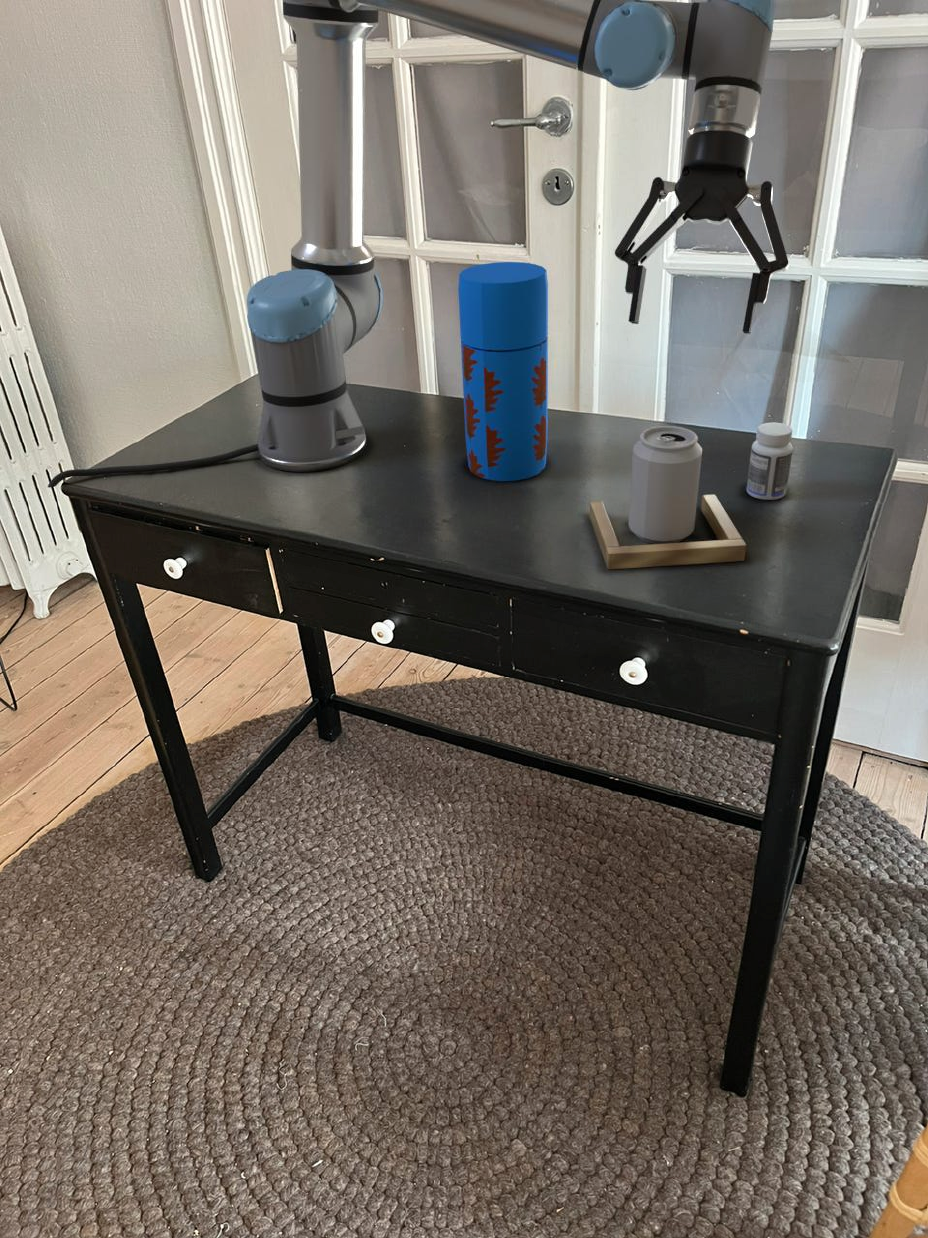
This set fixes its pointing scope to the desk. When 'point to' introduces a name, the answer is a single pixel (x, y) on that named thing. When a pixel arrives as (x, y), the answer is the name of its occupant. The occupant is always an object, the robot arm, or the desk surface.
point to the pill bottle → (770, 461)
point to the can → (664, 484)
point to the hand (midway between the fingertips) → (688, 327)
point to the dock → (673, 553)
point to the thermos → (505, 368)
